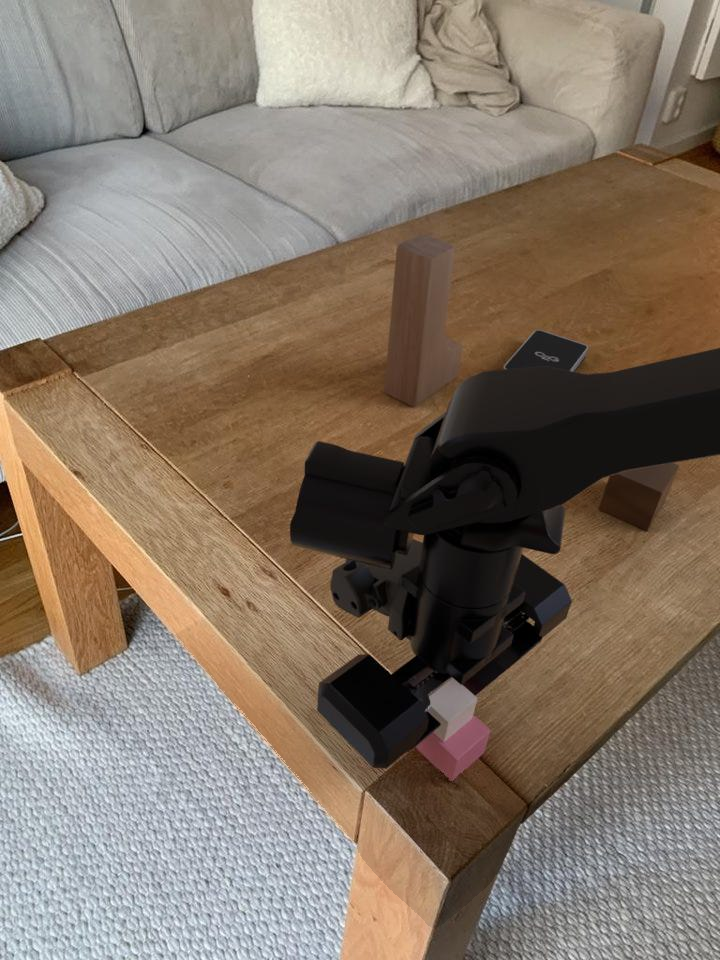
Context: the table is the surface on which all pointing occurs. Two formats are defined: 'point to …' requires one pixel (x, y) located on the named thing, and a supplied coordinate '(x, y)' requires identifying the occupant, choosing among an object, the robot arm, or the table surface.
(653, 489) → the walnut block
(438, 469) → the robot arm
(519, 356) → the external hard drive
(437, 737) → the pink block with cube
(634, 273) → the table surface
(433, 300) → the wooden block
